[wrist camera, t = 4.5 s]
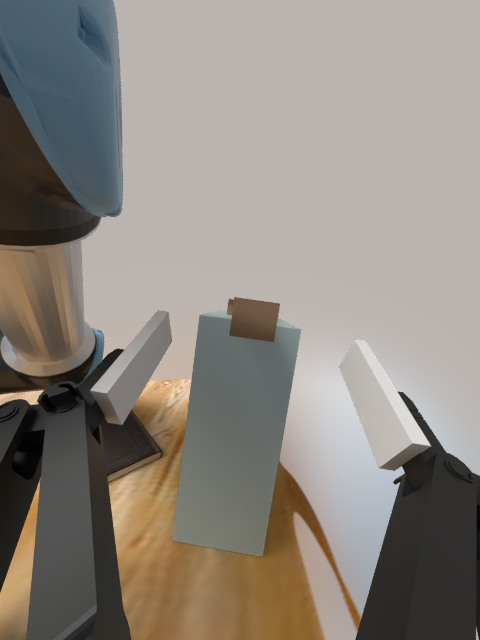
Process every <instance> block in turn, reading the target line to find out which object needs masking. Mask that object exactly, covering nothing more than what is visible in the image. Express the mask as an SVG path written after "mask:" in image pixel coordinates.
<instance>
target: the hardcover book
mask: <svg viewBox="0 0 480 640" xmlns="http://www.w3.org/2000/svg"><path fill="white" fill-rule="evenodd" d="M100 425H101V428H102V437H103V445H104V453H105V462H106V470H107V478H108V482H110V481H112V480H114V479H116V478H118V477H120V476H122V475H124V474H126V473H128V472H130V471H132V470H135V469H137V468H139V467H141V466H143V465H145V464H147V463H149V462H151V461H153V460H155V459H157V458H159V457H162V450H161V449H160V448H159V446H158V445H157V444H156V442H155V441H154V440H153V438H152V437H151V436H150V434H149V433H148V432H147V430H146V429H145V427H144V426H143V425H142V423H141V422H140V421H139V419H138V418H137V417H136V415H135V414H134V413H133V411H132V410H131V411H130V413H129V415H128V416H127V418H126V420H125V421H124V423H123V425H119V424H113V423H108V422H107V420H106V418H105V417H104V419H103V420H102V421H101V423H100Z"/></svg>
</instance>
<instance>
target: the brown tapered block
mask: <svg viewBox="0 0 480 640" xmlns="http://www.w3.org/2000/svg"><path fill="white" fill-rule="evenodd" d="M279 306H280V304H279V303H272V302H264V301H257V300H250V299H243V298H236V297H235V298H234V300H232V299H229V302H228V309H227V315H232V319H231V326H230V333H229V336H235V337H242V338H248V339H255V340H262V341H269V342H274V338H275V332H276V326H277V320H278V313H279Z"/></svg>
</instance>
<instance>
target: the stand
mask: <svg viewBox="0 0 480 640" xmlns="http://www.w3.org/2000/svg"><path fill="white" fill-rule="evenodd" d="M231 319H232V315H227V311H214V312H210V313H206V314H202V315H200V316H199V325H198V333H197V341H196V349H195V357H194V365H193V373H192V381H191V389H190V397H189V405H188V414H187V422H186V430H185V438H184V446H183V454H182V462H181V470H180V478H179V487H178V495H177V503H176V511H175V519H174V527H173V535H172V541H175V542H181V543H186V544H192V545H197V546H203V547H209V548H214V549H220V550H226V551H231V552H237V553H243V554H248V555H254V556H259V557H263V551H264V545H265V540H266V534H267V528H268V522H269V516H270V510H271V504H272V498H273V493H274V487H275V481H276V475H277V469H278V463H279V457H280V451H281V445H282V440H283V433H284V428H285V422H286V416H287V410H288V404H289V399H290V392H291V387H292V380H293V375H294V369H295V363H296V357H297V351H298V345H299V340H300V334H301V329H299V328H297V327H295V326H293V325H291V324H289V323H287V322H284V321H282V320H281V319H278V320H277V326H276V332H275V338H274V342H269V341H262V340H255V339H248V338H242V337H235V336H229V333H230V326H231Z"/></svg>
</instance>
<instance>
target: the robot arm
mask: <svg viewBox="0 0 480 640" xmlns="http://www.w3.org/2000/svg"><path fill="white" fill-rule="evenodd" d="M122 189H123V171H122V109H121V81H120V59H119V43H118V30H117V19H116V12H115V7H114V2H113V0H0V394H8V393H18V392H29V391H39V390H44V391H43V392H42V394H41V395H40V396H39V398H38V400H37V402H38V403H39V404H37V405H30V404H29V403H28V402H27V401H26V400H23V399H18V400H12V401H9V402H6V403H4V404H2V405H0V592H1V589H2V586H3V583H4V580H5V578H6V575H7V572H8V569H9V566H10V563H11V560H12V558H13V555H14V552H15V549H16V546H17V543H18V540H19V537H20V535H21V532H22V529H23V526H24V523H25V520H26V517H27V515H28V512H29V509H30V506H31V503H32V500H33V497H34V494H35V492H36V489H37V486H38V483H39V480H40V477H41V480H40V492H39V503H38V514H37V526H36V537H35V548H34V560H33V571H32V582H31V594H30V605H29V617H28V628H27V639H26V640H131V636H130V630H129V625H128V621H127V619H126V616H125V613H124V609H123V603H122V595H121V587H120V578H119V570H118V562H117V553H116V545H115V537H114V528H113V520H112V512H111V503H110V495H109V487H108V478H107V470H106V462H105V453H104V445H103V437H102V428H101V425H100V423H101V421H102V420H103V419H104V417H105V418H106V420H107V422H108V423H113V424H119V425H123V423H124V421H125V420H126V418H127V416H128V415H129V413H130V411H131V409H132V408H133V406H134V404H135V403H136V401H137V399H138V398H139V396H140V394H141V393H142V391H143V389H144V388H145V386H146V384H147V383H148V381H149V379H150V378H151V376H152V374H153V372H154V371H155V369H156V367H157V366H158V364H159V362H160V361H161V359H162V357H163V355H164V354H165V352H166V351H167V349H168V347H169V346H170V344H171V342H172V336H171V329H170V321H169V313H168V312H165V311H157V312H156V313H155V314H154V316H153V317H152V318H151V319H150V320H149V321H148V323H147V324H146V325H145V326H144V327H143V329H142V330H141V331H140V332H139V334H137V336H136V337H135V338H134V339H133V340H132V342H131V343H130V344H129V345H128V346H127V348H126V349H125V350H123V349H116V350H114V351H113V352H111V353H109V354H108V355H107V356H106V357H105V358H104V360H102V358H103V350H104V336H103V333H102V331H100V330H96V329H93V328H91V327H90V326H89V325H88V324H87V323H86V322H85V321H84V302H83V278H82V252H81V240H83V239H85V238H87V237H88V236H90V235H91V234H92V233H93V232H94V231H95V230H96V229H97V228H98V226H99V224H100V221H101V217H106V216H110V217H116V216H118V215H120V213H121V211H122V196H123V193H122V192H123V190H122ZM339 368H340V370H341V373H342V375H343V378H344V380H345V383H346V385H347V388H348V391H349V393H350V396H351V398H352V401H353V403H354V406H355V408H356V411H357V414H358V416H359V418H360V421H361V424H362V426H363V429H364V431H365V434H366V436H367V439H368V442H369V444H370V447H371V449H372V452H373V454H374V457H375V459H376V462H377V465H378V467H379V468H381V469H387V470H393V471H395V470H396V469H398V468H399V467H401V466H402V467H403V469H404V471H405V474H403V475H402V476H400V477H399V478H397V479H395V480H394V482H393V483H394V484H397V483H399V482H400V485H399V489H398V492H397V496H396V499H395V503H394V506H393V510H392V513H391V517H390V520H389V524H388V527H387V531H386V534H385V538H384V541H383V545H382V548H381V552H380V556H379V559H378V563H377V566H376V569H375V573H374V576H373V580H372V584H371V587H370V590H369V594H368V598H367V601H366V605H365V608H364V612H363V615H362V619H361V622H360V626H359V629H358V633H357V636H356V640H476V627H477V632H478V637H479V640H480V476H479V475H476V474H474V473H472V472H471V471H470V469H469V468H468V467H467V466H466V465H465V464H464V463H463V462H461V461H460V460H459V459H458V458H456V457H454V456H453V455H451V454H449V453H446V451H445V450H444V449H443V447H442V446H441V444H440V443H439V441H438V439H437V438H436V436H435V435H434V433H433V432H432V430H431V429H430V428H429V426H428V425H427V423H426V421H425V420H423V417H422V415H421V414H420V413H419V412H418V409H417V408H416V406H415V405H414V403H413V402H412V401H411V400H410V399H409V398H408V397H407V396H406V395H405V394H404V393H403V392H397V391H396V389H395V387H394V386H393V384H392V382H391V381H390V379H389V378H388V376H387V375H386V373H385V371H384V370H383V368H382V366H381V365H380V363H379V362H378V360H377V358H376V357H375V355H374V353H373V352H372V350H371V349H370V347H369V345H368V344H367V342H366V341H362V340H354V342H353V343H352V345H351V347H350V348H349V350H348V352H347V354H346V355H345V357H344V359H343V361H342V362H341V364H340V366H339Z"/></svg>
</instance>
